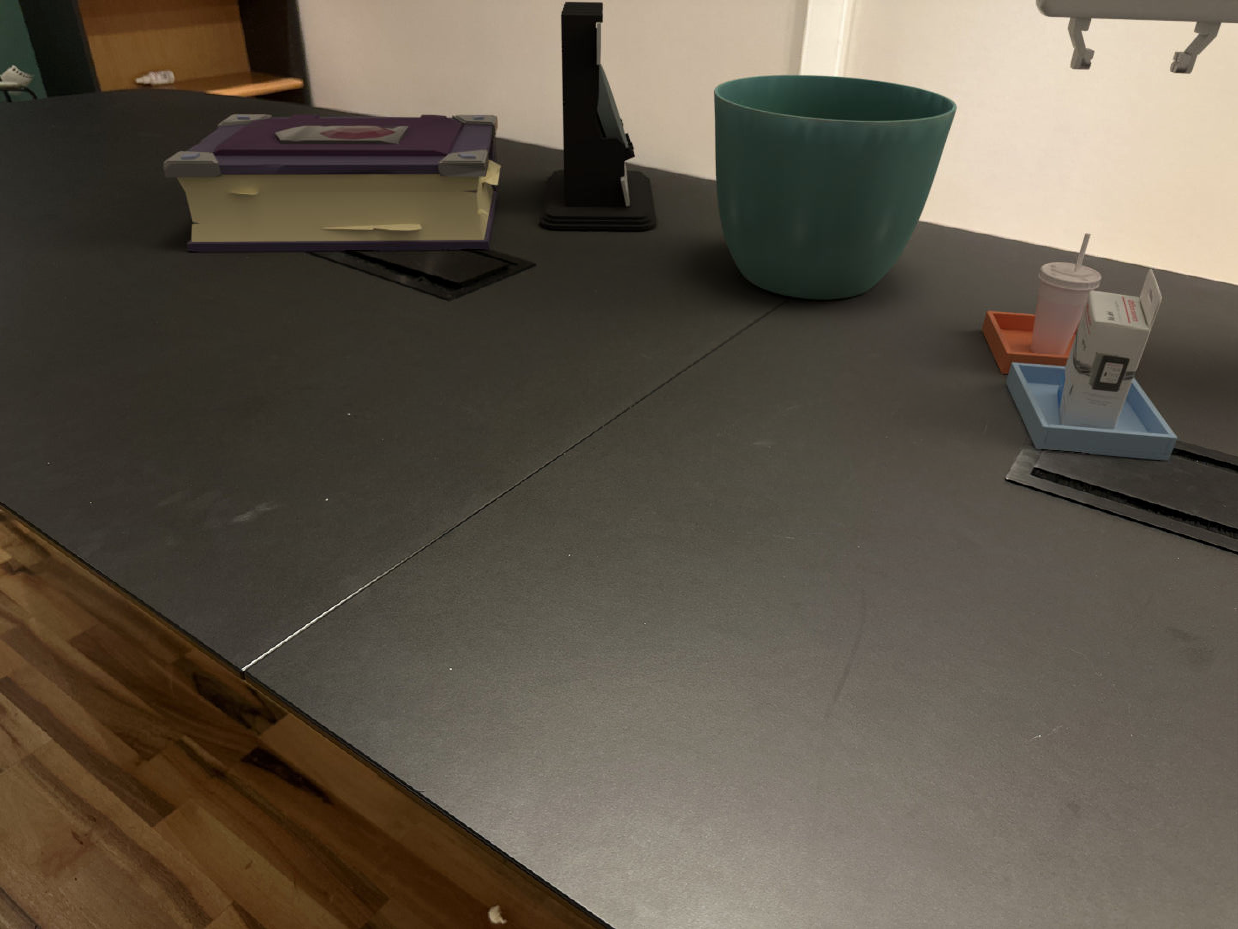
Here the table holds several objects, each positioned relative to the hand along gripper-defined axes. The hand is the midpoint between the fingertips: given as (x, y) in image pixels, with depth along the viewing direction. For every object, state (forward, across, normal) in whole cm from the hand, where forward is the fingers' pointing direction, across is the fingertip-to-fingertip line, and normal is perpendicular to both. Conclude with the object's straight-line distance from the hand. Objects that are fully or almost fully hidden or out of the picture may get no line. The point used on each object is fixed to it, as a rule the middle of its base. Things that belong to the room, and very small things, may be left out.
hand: (1129, 70), depth 89 cm
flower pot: (+31, -27, +21) cm, 46 cm away
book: (+31, -98, +34) cm, 108 cm away
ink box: (+31, 0, -16) cm, 34 cm away
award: (+31, -62, +50) cm, 85 cm away
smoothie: (+31, 0, 0) cm, 31 cm away
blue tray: (+31, 0, -16) cm, 35 cm away
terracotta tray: (+31, 0, 0) cm, 31 cm away
